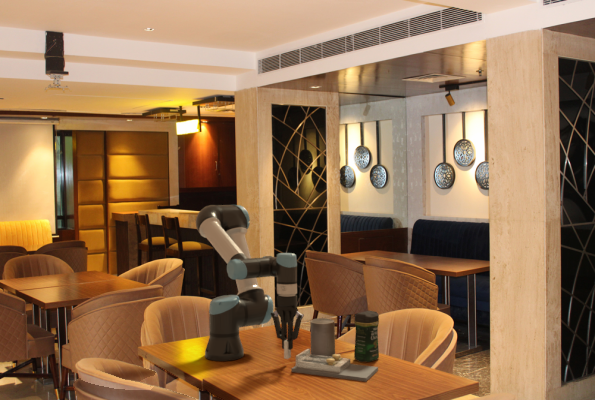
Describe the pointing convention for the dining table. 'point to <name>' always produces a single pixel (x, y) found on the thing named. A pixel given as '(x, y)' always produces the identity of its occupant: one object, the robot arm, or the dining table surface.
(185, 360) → the dining table surface
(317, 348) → the pillar candle
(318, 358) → the keyhole panel
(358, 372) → the board
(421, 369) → the dining table surface
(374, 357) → the coffee jar
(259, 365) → the dining table surface
